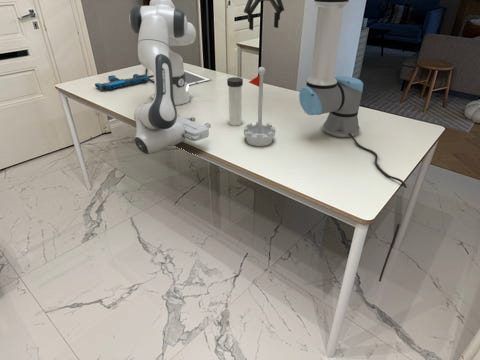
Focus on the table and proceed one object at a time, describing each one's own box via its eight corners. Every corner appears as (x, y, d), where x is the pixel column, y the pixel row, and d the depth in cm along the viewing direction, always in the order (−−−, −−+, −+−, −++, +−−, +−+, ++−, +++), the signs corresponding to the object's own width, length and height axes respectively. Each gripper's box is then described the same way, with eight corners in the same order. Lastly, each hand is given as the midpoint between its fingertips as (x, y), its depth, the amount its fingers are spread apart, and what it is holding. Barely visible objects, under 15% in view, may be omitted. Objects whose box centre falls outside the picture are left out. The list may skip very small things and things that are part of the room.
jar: (233, 119, 160) (232, 77, 149) (243, 122, 158) (243, 79, 147) (227, 124, 156) (226, 81, 145) (237, 126, 154) (237, 83, 143)
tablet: (156, 75, 222) (156, 74, 221) (183, 69, 233) (183, 69, 233) (183, 86, 201) (183, 86, 201) (210, 80, 212) (210, 79, 212)
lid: (232, 81, 151) (232, 76, 150) (245, 83, 148) (245, 78, 147) (224, 85, 146) (224, 80, 145) (237, 88, 143) (237, 82, 142)
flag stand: (266, 131, 149) (269, 61, 133) (280, 143, 139) (285, 69, 122) (239, 136, 145) (238, 64, 129) (250, 149, 135) (252, 73, 118)
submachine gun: (139, 68, 225) (158, 74, 208) (140, 74, 226) (158, 80, 210) (87, 78, 206) (103, 86, 189) (89, 84, 208) (104, 92, 191)
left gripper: (191, 132, 125) (218, 121, 133) (158, 117, 136) (185, 108, 145) (193, 147, 128) (219, 136, 136) (160, 132, 140) (186, 122, 148)
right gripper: (284, -24, 159) (281, 25, 170) (236, -23, 150) (236, 29, 161) (293, -24, 153) (290, 27, 165) (244, -22, 144) (243, 31, 156)
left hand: (201, 121), depth 141 cm, fingers open, 8 cm apart
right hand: (263, 28), depth 163 cm, fingers open, 13 cm apart
